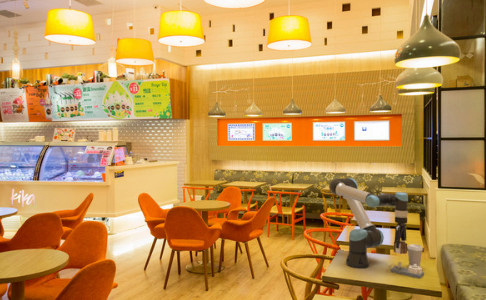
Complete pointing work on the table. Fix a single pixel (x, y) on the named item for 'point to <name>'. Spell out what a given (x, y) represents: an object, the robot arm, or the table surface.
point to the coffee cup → (414, 254)
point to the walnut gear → (401, 247)
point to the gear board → (408, 270)
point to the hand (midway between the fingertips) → (400, 251)
